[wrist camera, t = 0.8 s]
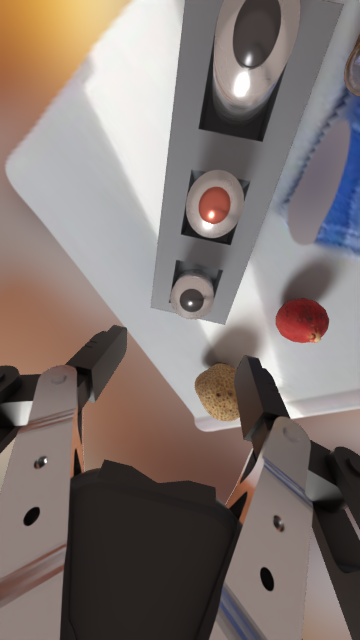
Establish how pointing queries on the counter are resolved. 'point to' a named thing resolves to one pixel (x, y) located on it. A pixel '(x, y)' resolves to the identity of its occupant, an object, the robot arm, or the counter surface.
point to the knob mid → (214, 203)
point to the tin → (353, 70)
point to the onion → (302, 320)
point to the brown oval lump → (218, 392)
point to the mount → (229, 151)
